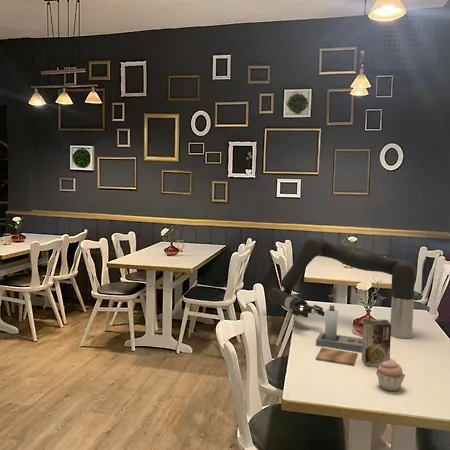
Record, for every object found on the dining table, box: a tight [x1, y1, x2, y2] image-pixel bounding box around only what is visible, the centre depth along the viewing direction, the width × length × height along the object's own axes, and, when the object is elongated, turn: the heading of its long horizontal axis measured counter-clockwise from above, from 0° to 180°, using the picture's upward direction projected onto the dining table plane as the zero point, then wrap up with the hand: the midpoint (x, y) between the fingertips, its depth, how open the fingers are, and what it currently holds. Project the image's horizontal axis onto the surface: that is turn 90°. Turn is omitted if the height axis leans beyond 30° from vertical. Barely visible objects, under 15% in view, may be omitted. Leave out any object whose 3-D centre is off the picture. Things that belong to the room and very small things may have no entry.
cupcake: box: [375, 357, 406, 392], centre depth 157 cm, size 9×9×10 cm
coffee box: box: [361, 318, 392, 367], centre depth 177 cm, size 9×6×16 cm
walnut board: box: [315, 347, 359, 367], centre depth 183 cm, size 14×12×1 cm
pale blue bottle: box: [324, 304, 339, 341], centre depth 198 cm, size 5×5×16 cm
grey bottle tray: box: [315, 332, 363, 353], centre depth 197 cm, size 21×10×3 cm, turn 68°
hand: (315, 314), depth 208 cm, fingers open, 8 cm apart
